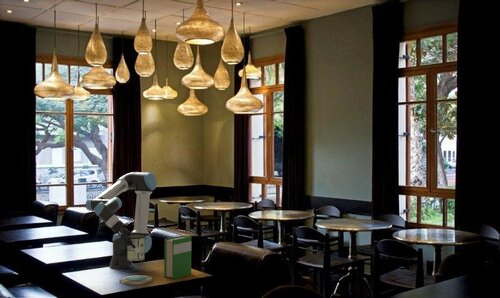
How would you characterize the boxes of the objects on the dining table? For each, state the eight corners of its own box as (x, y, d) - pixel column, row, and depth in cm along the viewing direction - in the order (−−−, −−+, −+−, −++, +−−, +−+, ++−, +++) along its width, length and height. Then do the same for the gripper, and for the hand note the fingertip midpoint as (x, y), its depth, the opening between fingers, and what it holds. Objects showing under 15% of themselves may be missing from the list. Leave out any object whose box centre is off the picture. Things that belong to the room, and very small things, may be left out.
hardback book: (173, 279, 343) (173, 240, 343) (164, 277, 347) (164, 239, 347) (191, 273, 358) (191, 236, 358) (182, 272, 362) (182, 235, 362)
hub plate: (115, 280, 339) (115, 277, 339) (144, 276, 350) (144, 273, 350) (127, 286, 324) (127, 283, 324) (157, 282, 334) (157, 279, 334)
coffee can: (130, 257, 342) (130, 234, 342) (146, 257, 341) (146, 234, 341) (124, 260, 332) (125, 236, 332) (141, 261, 331) (141, 237, 331)
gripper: (115, 225, 348) (140, 251, 348) (105, 230, 326) (132, 258, 325) (123, 217, 348) (148, 242, 348) (114, 221, 326) (141, 248, 326)
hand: (141, 250), depth 337 cm, fingers closed on coffee can, 10 cm apart
